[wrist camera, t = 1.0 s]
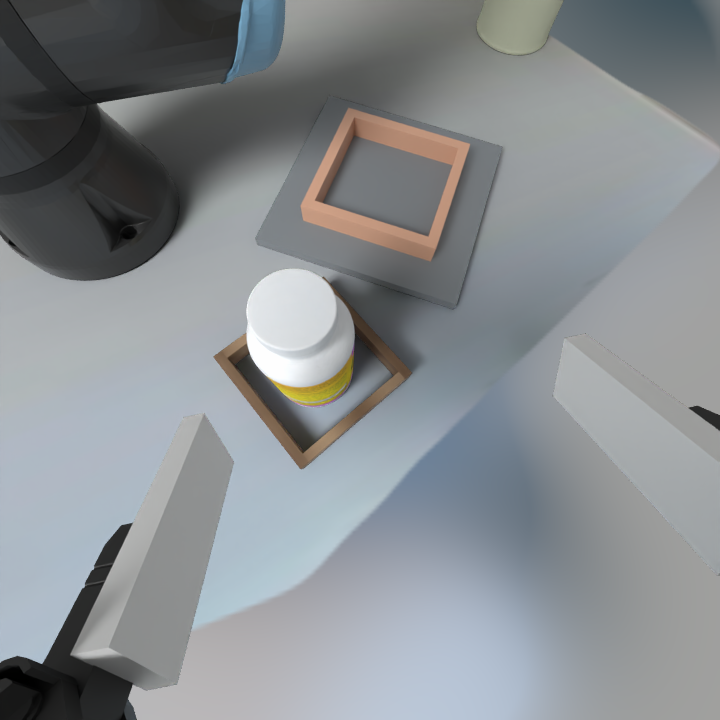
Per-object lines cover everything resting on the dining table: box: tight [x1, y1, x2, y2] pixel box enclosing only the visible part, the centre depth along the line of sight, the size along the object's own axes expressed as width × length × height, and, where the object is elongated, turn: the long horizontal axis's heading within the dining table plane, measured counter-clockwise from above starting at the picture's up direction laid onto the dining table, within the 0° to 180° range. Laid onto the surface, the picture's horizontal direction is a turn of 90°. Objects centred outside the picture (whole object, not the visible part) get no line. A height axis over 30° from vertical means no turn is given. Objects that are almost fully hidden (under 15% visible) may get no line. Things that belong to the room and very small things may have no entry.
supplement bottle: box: [246, 268, 355, 408], centre depth 23 cm, size 7×7×13 cm
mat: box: [255, 95, 502, 309], centre depth 34 cm, size 20×20×1 cm
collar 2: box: [213, 277, 412, 469], centre depth 28 cm, size 12×12×2 cm
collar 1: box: [301, 108, 470, 262], centre depth 33 cm, size 13×13×2 cm
